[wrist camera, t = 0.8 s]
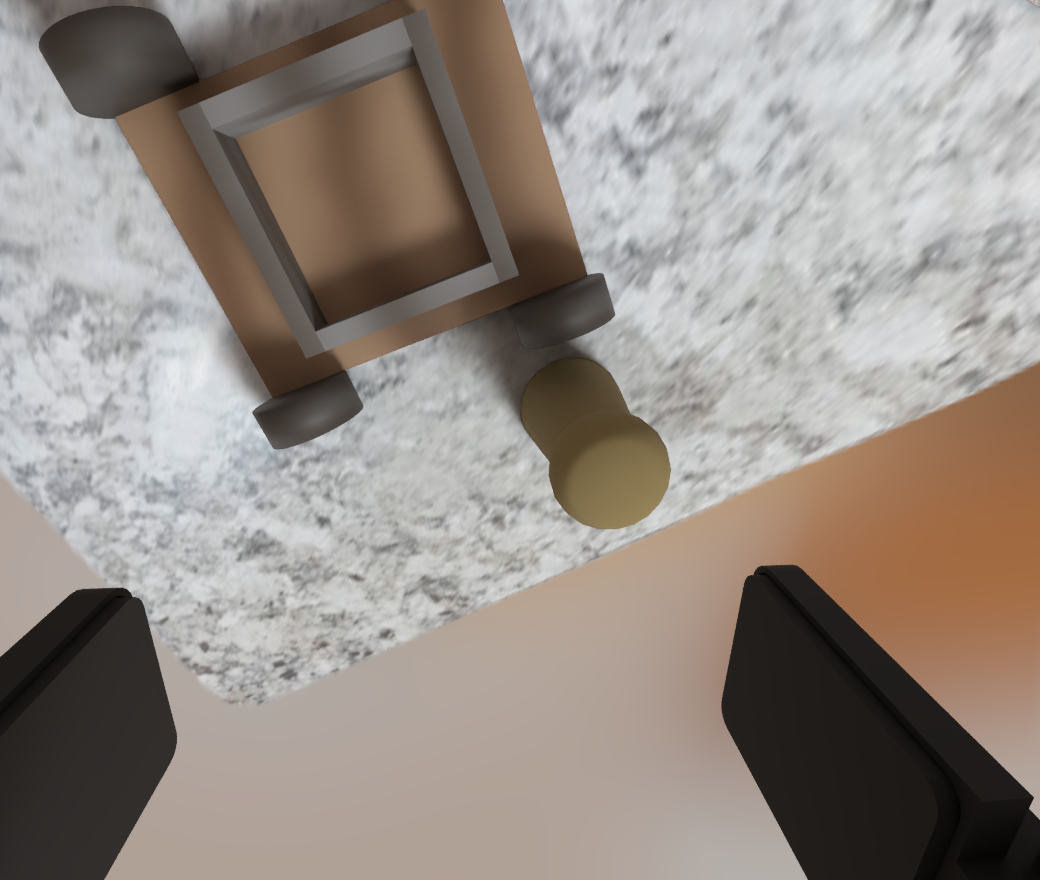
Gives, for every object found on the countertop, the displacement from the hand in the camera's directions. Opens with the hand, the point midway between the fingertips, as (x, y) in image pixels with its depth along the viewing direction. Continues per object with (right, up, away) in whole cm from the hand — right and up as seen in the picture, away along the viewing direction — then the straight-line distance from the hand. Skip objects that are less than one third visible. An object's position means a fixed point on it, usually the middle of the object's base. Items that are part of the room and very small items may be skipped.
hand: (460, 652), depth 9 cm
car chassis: (-6, +15, +19) cm, 25 cm away
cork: (+4, +5, +24) cm, 25 cm away
